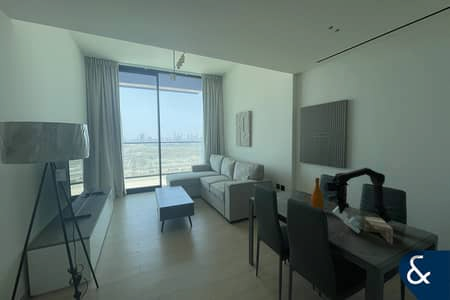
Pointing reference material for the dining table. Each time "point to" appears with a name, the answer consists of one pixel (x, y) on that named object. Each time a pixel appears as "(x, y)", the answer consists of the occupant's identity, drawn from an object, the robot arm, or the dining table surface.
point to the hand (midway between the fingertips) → (340, 212)
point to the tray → (347, 220)
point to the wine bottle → (317, 196)
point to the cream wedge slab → (379, 228)
